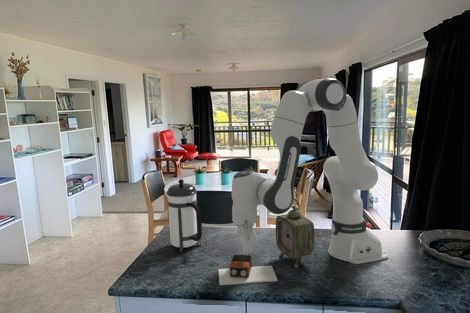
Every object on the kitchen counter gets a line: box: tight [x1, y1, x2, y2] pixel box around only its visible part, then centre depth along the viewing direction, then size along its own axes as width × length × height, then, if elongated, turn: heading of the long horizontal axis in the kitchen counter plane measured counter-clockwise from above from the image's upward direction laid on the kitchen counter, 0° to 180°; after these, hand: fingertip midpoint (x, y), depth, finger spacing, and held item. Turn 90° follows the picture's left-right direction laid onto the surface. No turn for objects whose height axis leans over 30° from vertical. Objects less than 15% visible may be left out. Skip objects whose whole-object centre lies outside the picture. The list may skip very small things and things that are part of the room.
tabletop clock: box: [275, 197, 315, 269], centre depth 125 cm, size 14×9×25 cm, turn 22°
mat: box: [218, 265, 278, 286], centre depth 116 cm, size 20×10×1 cm, turn 95°
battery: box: [229, 254, 252, 278], centre depth 118 cm, size 4×7×10 cm
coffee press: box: [165, 178, 203, 254], centre depth 140 cm, size 17×16×30 cm
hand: (245, 253), depth 117 cm, fingers closed
